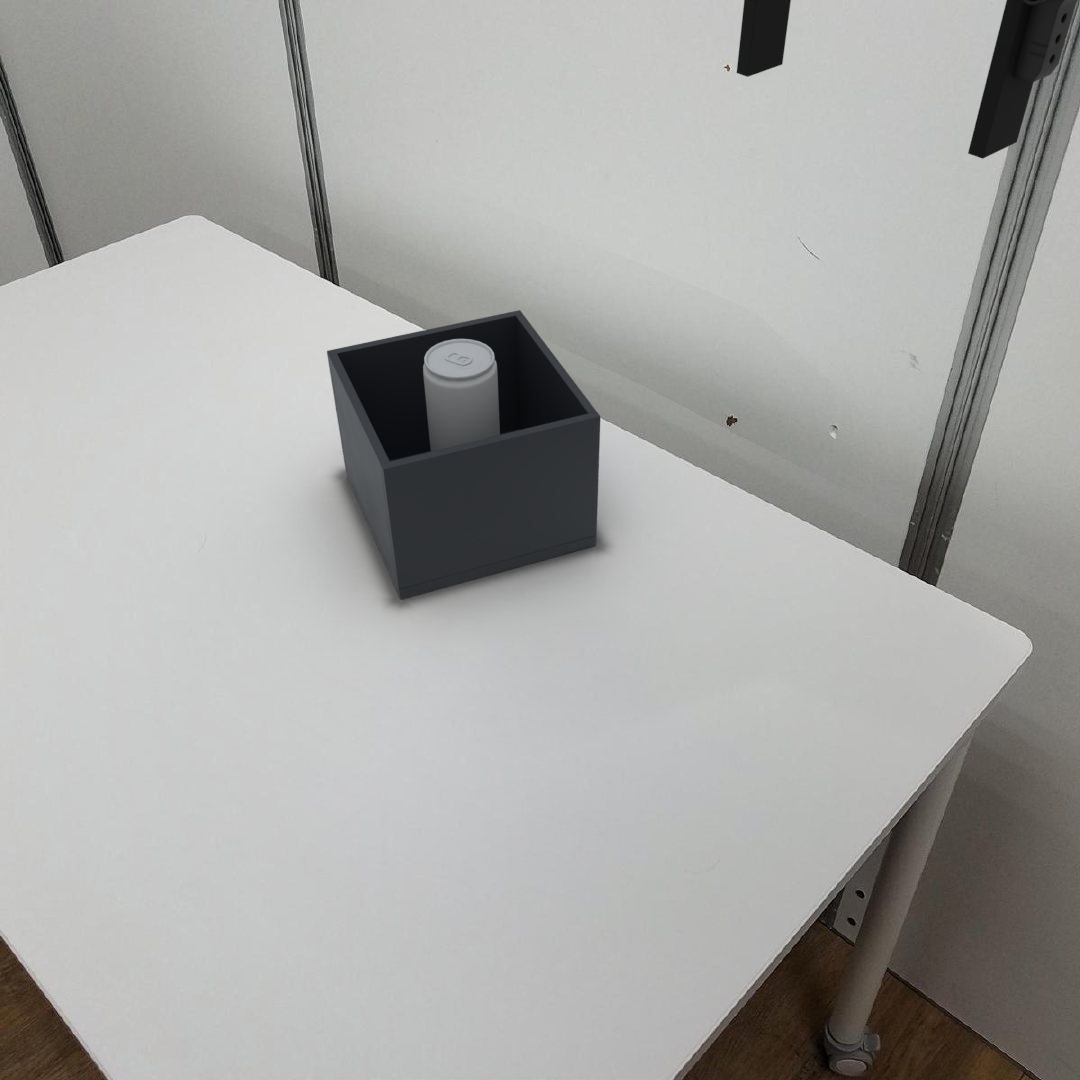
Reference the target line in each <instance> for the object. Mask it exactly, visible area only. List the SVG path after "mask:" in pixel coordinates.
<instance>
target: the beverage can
mask: <svg viewBox="0 0 1080 1080" xmlns="http://www.w3.org/2000/svg"><path fill="white" fill-rule="evenodd" d="M423 375H424V385H425V396H426V407H427V417H428V428H429V438H430V447H431V452H432V451H436V450H440V449H444V448H448V447H452V446H457V445H461V444H465V443H469V442H473V441H477V440H481V439H485V438H490V437H494V436H498V435H500V424H499V400H498V376H497V364H496V361H495V357H494V352H493V351H492V349H491V348H490V347H489V346H487V345H486V344H484V343H482V342H479V341H475V340H471V339H453V340H448V341H444V342H441V343H438V344H436V345H435V346H433V347H431V348H430V349H429V350H428V351H427V352H426V355H425V357H424V365H423Z"/></svg>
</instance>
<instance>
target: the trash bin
mask: <svg viewBox="0 0 1080 1080" xmlns="http://www.w3.org/2000/svg"><path fill="white" fill-rule="evenodd" d="M529 321H530V320H528V319H527V318H526V316H525V315H524V313H523V312H522V310H520V309H518V310H514V311H509V312H504V313H499V314H494V315H490V316H485V317H480V318H476V319H471V320H465V321H462V322H457V323H452V324H448V325H447V324H446V325H443V326H438V327H432V328H429V329H423V330H419V331H414V332H410V333H405V334H399V335H395V336H391V337H385V338H381V339H376V340H371V341H367V342H362V343H356V344H352V345H348V346H343V347H338V348H334V349H329V350H327V351H326V355H327V362H328V368H329V369H328V370H329V374H330V381H331V386H332V393H333V398H334V399H333V400H334V407H335V412H336V419H337V424H338V430H339V437H340V444H341V449H342V450H341V451H342V456H343V464H344V468H345V476H346V478H347V480H348V483H349V485H350V488H351V489H352V492H353V495H354V496H355V499H356V502H357V504H358V506H359V508H360V511H361V513H362V515H363V518H364V520H365V522H366V524H367V527H368V529H369V532H370V533H371V536H372V538H373V541H374V543H375V545H376V547H377V549H378V552H379V554H380V557H381V559H382V561H383V563H384V567H385V568H386V571H387V573H388V576H389V577H390V580H391V582H392V583H393V584H392V585H393V586H394V589H395V591H396V594H397V596H398V598H399V600H405V599H408V598H411V597H415V596H419V595H422V594H427V593H430V592H433V591H437V590H440V589H443V588H447V587H451V586H452V587H453V586H455V585H458V584H462V583H466V582H469V581H473V580H476V579H480V578H483V577H488V576H491V575H495V574H498V573H502V572H505V571H506V572H507V571H509V570H512V569H516V568H519V567H524V566H527V565H530V564H534V563H537V562H541V561H545V560H548V559H552V558H556V557H558V556H563V555H567V554H570V553H573V552H574V553H575V552H577V551H581V550H584V549H588V548H592V547H595V546H597V534H598V507H599V506H598V505H599V503H598V502H599V501H598V500H599V476H600V475H599V473H600V446H601V445H600V444H601V443H600V441H601V415H600V413H599V412H598V411H597V410H596V409H595V407H594V406H593V404H592V403H591V402H590V401H589V400H588V398H587V397H586V395H585V394H584V392H583V391H582V389H581V388H579V386H578V384H577V383H576V382H575V380H574V379H573V378H572V377H571V375H570V374H569V372H568V371H567V369H565V367H564V366H563V364H562V363H561V362H560V361H559V360H558V358H557V357H556V356H555V354H554V353H553V352H552V350H551V349H550V348H549V347H548V345H547V344H546V342H545V341H544V340H543V338H542V337H541V336H540V335H539V333H538V332H537V331H536V329H535V328H534V326H533V325H532V324H531V323H530V322H529ZM453 339H471V340H475V341H479V342H482V343H484V344H486V345H487V346H489V347H490V348H491V349H492V351H493V352H494V357H495V361H496V364H497V376H498V400H499V424H500V435H498V436H494V437H490V438H485V439H481V440H477V441H473V442H469V443H465V444H461V445H457V446H452V447H448V448H444V449H440V450H436V451H432V452H431V447H430V438H429V428H428V417H427V407H426V396H425V385H424V375H423V365H424V357H425V355H426V352H427V351H428V350H429V349H430V348H431V347H433V346H435V345H436V344H438V343H441V342H444V341H448V340H453Z"/></svg>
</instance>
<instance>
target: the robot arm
mask: <svg viewBox="0 0 1080 1080" xmlns="http://www.w3.org/2000/svg"><path fill="white" fill-rule="evenodd" d="M791 1H792V0H743V9H742V18H741V28H740V37H739V46H738V56H737V65H736V74H739V75H741V76H744V77H747V78H748V77H752V76H754V75H757V74H760V73H763V72H766V71H768V70H771V69H773V68H777V67H780V66H782V65H783V63H784V56H785V55H784V54H785V46H786V40H787V34H788V33H787V32H788V24H789V19H790V11H791V9H790V8H791ZM1078 1H1079V0H1006V1H1005V5H1004V8H1003V9H1004V10H1003V13H1002V16H1001V21H1000V25H999V30H998V34H997V37H996V40H995V45H994V48H993V53H992V55H991V56H992V57H991V61H990V64H989V68H988V71H987V72H988V73H987V77H986V81H985V84H984V88H983V92H982V96H981V100H980V104H979V108H978V113H977V116H976V120H975V124H974V128H973V131H972V136H971V140H970V144H969V148H968V152H967V154H968V155H971V156H974V157H976V158H980V159H985V158H987V157H989V156H991V155H995V154H996V153H997V152H999V151H1000V152H1001V151H1002V150H1004V149H1006V148H1008V147H1010V146H1013V145H1014V144H1016V143H1018V140H1019V136H1020V133H1021V129H1022V125H1023V122H1024V118H1025V114H1026V111H1027V108H1028V103H1029V100H1030V96H1031V93H1032V88H1033V87H1034V83H1035V82H1037V81H1039V80H1042V79H1044V78H1046V77H1048V76H1050V75H1052V74H1053V72H1054V71H1055V70H1056V68H1057V67H1058V65H1059V64H1060V61H1061V57H1062V54H1063V49H1064V48H1065V43H1066V39H1067V37H1068V33H1069V30H1070V27H1071V24H1072V20H1073V16H1074V13H1075V9H1076V6H1077V4H1078Z"/></svg>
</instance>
